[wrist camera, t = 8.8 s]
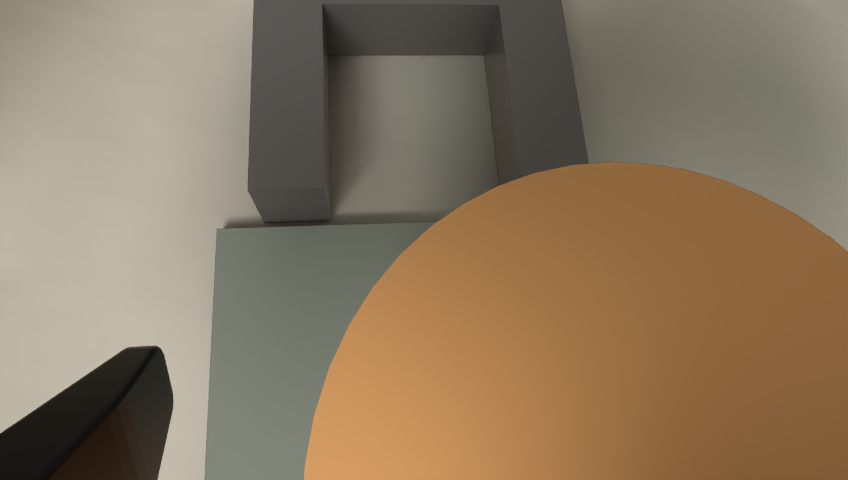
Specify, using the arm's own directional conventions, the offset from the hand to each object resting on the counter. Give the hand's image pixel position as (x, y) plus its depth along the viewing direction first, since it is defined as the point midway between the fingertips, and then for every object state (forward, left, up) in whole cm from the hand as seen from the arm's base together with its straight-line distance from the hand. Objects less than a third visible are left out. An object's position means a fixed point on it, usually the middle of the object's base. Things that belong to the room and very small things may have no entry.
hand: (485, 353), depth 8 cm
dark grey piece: (+8, +5, -9) cm, 13 cm away
